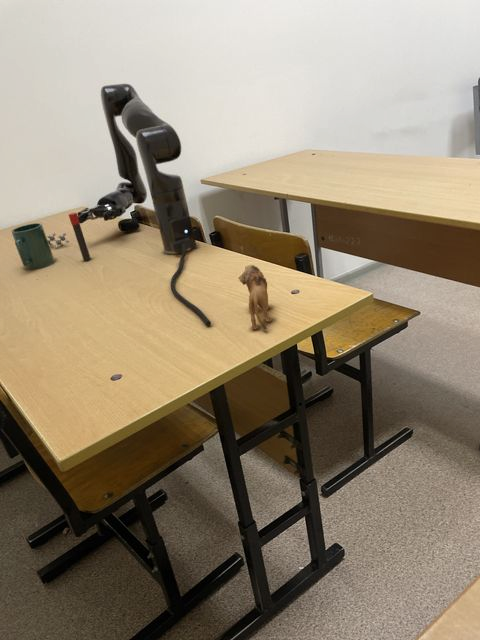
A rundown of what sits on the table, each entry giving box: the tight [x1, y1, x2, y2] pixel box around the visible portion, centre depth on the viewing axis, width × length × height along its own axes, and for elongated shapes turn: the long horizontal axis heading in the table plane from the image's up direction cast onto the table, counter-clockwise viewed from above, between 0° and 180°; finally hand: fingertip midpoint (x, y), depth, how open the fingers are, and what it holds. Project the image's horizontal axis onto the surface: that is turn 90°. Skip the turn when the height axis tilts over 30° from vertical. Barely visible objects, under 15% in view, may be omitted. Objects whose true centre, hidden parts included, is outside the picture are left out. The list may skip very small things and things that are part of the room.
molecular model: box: [46, 232, 70, 249], centre depth 176 cm, size 14×4×5 cm, turn 78°
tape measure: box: [117, 217, 140, 234], centre depth 180 cm, size 7×7×4 cm
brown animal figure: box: [238, 264, 273, 331], centre depth 103 cm, size 15×5×9 cm, turn 10°
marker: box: [68, 212, 92, 262], centre depth 155 cm, size 2×2×14 cm
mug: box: [10, 222, 55, 270], centre depth 157 cm, size 12×9×12 cm
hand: (91, 218), depth 162 cm, fingers open, 8 cm apart
